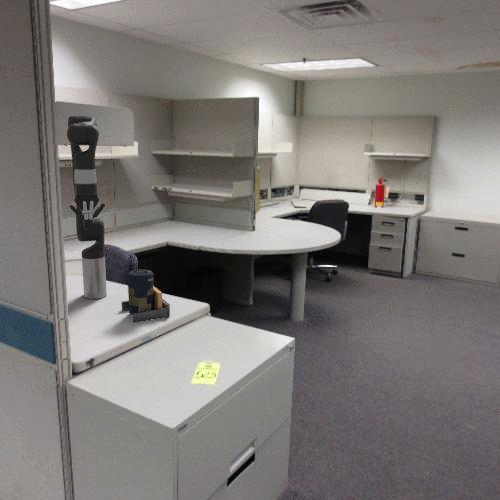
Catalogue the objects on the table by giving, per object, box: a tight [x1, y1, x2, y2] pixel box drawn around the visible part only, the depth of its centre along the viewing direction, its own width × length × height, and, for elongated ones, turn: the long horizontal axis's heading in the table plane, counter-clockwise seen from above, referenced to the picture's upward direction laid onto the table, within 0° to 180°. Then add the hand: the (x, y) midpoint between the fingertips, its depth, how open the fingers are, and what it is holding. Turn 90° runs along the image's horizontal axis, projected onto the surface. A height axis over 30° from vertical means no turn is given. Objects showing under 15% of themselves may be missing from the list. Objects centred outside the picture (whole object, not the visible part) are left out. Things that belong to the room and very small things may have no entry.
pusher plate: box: [154, 286, 163, 309], centre depth 186 cm, size 12×2×9 cm, turn 31°
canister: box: [127, 268, 155, 316], centre depth 183 cm, size 10×10×18 cm
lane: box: [121, 297, 171, 324], centre depth 185 cm, size 15×14×5 cm
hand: (88, 229), depth 176 cm, fingers closed
